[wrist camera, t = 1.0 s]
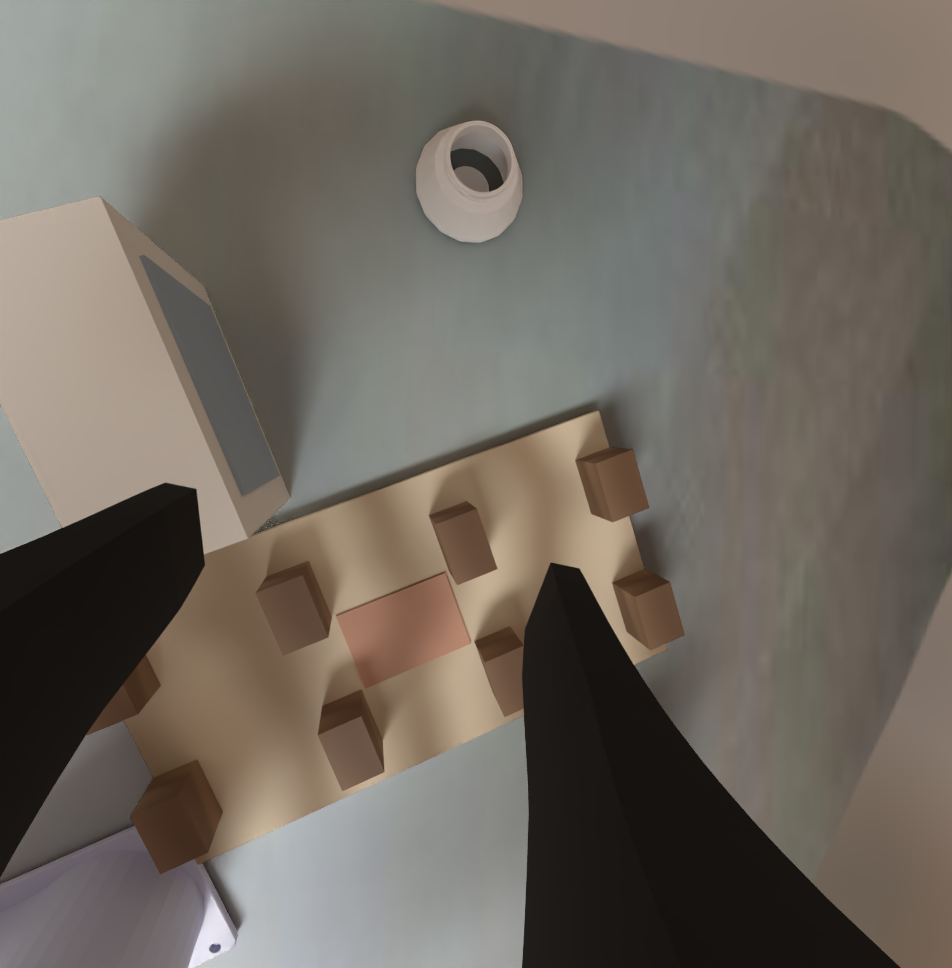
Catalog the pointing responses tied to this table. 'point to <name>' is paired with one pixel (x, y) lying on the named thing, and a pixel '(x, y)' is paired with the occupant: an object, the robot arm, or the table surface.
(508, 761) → the table surface
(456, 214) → the lidless jar
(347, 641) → the notch rack
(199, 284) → the tall beige pillar block
